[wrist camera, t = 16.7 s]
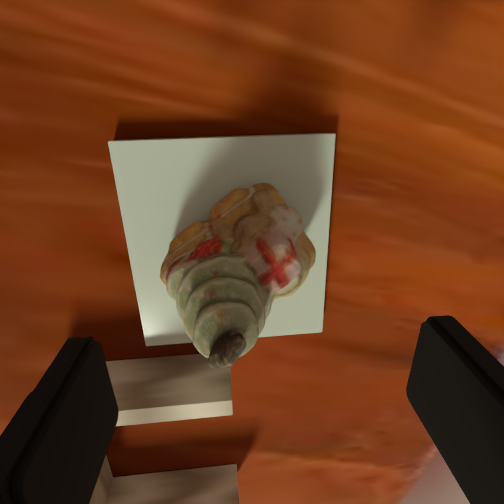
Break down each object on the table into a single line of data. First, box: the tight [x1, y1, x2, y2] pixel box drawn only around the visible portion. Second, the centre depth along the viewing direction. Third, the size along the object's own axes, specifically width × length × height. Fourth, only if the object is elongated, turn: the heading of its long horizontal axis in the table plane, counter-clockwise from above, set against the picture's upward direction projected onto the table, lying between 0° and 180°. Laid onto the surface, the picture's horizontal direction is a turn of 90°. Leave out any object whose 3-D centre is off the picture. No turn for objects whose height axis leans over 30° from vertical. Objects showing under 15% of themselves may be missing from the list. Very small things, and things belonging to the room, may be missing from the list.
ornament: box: [160, 183, 316, 368], centre depth 15 cm, size 8×6×10 cm
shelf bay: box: [89, 354, 239, 504], centre depth 24 cm, size 12×13×4 cm
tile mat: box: [108, 133, 336, 346], centre depth 21 cm, size 12×13×1 cm
